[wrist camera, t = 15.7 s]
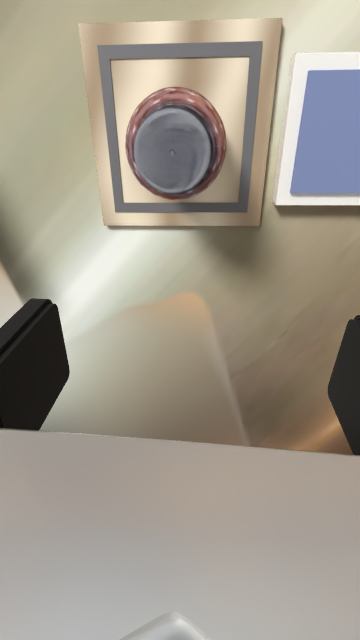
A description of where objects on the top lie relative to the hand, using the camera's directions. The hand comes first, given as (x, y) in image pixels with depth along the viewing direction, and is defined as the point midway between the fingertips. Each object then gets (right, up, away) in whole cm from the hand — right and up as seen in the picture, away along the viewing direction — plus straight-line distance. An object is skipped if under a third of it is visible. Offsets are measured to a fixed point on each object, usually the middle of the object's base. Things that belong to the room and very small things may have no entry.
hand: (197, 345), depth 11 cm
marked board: (-1, +16, +16) cm, 22 cm away
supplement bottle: (0, +15, +16) cm, 22 cm away
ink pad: (+12, +15, +15) cm, 25 cm away
